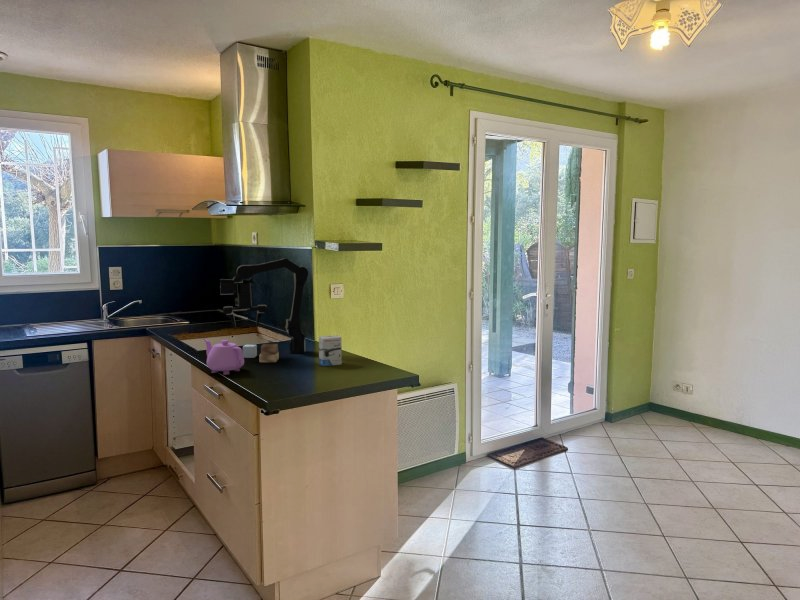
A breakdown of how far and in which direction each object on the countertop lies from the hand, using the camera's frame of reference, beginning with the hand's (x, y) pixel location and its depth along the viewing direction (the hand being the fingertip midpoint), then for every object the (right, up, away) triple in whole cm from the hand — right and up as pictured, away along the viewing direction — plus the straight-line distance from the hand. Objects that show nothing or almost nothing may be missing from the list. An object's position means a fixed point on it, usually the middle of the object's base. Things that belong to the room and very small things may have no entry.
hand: (246, 328), depth 249 cm
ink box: (+40, -14, -16) cm, 45 cm away
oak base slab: (+12, -14, -9) cm, 20 cm away
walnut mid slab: (+13, -10, -9) cm, 18 cm away
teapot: (-1, -16, -28) cm, 32 cm away
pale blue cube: (+2, -13, -1) cm, 13 cm away
